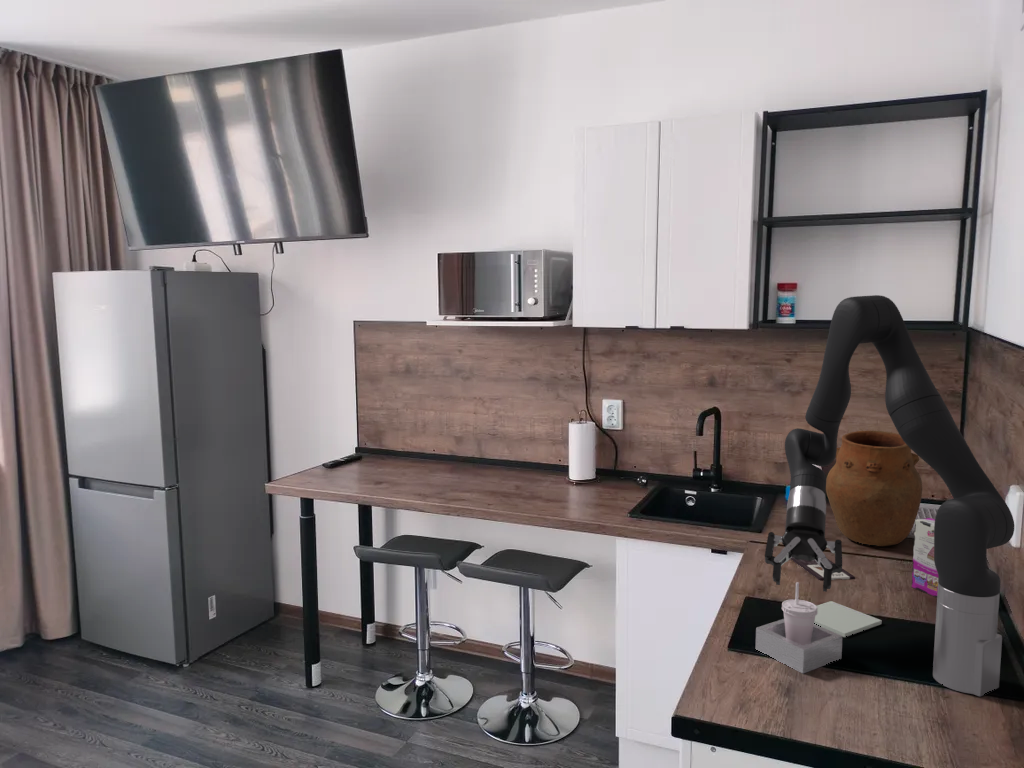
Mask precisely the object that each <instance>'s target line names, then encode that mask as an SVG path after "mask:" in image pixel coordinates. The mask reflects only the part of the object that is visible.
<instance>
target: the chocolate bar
mask: <svg viewBox="0 0 1024 768" xmlns="http://www.w3.org/2000/svg"><path fill="white" fill-rule="evenodd" d="M792 560H793V561H794V562H795V563H794V562H793V561H792ZM827 560H828V561H829V562H830V563H831V564H834V563H835V562H833V561H832V560H830V559H829V558H827ZM790 561H792V562H793V563H794V564H796V563H797V564H798V565H797V564H796V565H797V566H799V565H800V566H801V567H803V568H804V569H805V570H804V569H803V568H802V569H803V570H804V571H806V572H807V571H808V572H809V573H808V572H807V573H808V574H809V575H811V574H812V575H813V577H814V576H815V577H816V579H817V580H818V581H819V580H820V581H823V580H824V570H823V569H822V567H821V566H819V565H818V563H817V562H816V561H815V560H812V561H807V560H804V559H802V560H797V559H795V558H793V557H792V558H791V560H790ZM800 566H799V567H800ZM801 567H800V568H801ZM812 575H811V576H812ZM815 577H814V578H815ZM836 579H842V580H855V579H856V576H854V575H853V574H851V573H850V572H848V571H847V570H845V569H844V568H842V572H841V573H837V572H836V573H833V574H832V576H831V581H837V580H836Z"/></svg>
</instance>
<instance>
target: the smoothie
mask: <svg viewBox="0 0 1024 768" xmlns="http://www.w3.org/2000/svg"><path fill="white" fill-rule="evenodd" d="M799 591H800V582H797V581H796V582H795V598H794V599H793V598H792V599H787V600H784V601H782V603H781V610H782V611H783V619H784V621H785V632H786V638H787V639H789V640H791V641H794V642H796V643H798V644H800V645H802V646H803V645H806V644H809V643H811V638H812V632H813V626H814V621H815V616H816V615H817V614H818V612H817V609H818V608H817V605H816V604H815V603H813V602H810V601H807V600H803V599H799V593H800V592H799Z"/></svg>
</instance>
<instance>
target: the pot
mask: <svg viewBox="0 0 1024 768" xmlns="http://www.w3.org/2000/svg"><path fill="white" fill-rule="evenodd" d="M835 459H836V460H835V461H836V462H835V464H834V465H833V466H832V468H830V470H829V472H828V474H827V476H826V497H827V498H828V502H829V504H830V508H831V510H832V513H833V516H834V520H835V521H836V522H835V523H836V525H837V528H838V529H839V530H840V532H841V534H842V535H844V537H846V538H847V539H849V540H851V541H853V542H855V543H857V542H859V543H858V544H860V543H863V544H869V545H868V546H870V545H877V546H876V547H888V546H894V545H898V544H900V543H901V542H903V541H904V540H905V539H907V537H909V535H910V533H911V531H912V529H913V528H914V526H915V520H917V519H916V518H917V517H918V513H919V510H920V506H921V502H922V496H923V481H922V477H921V475H920V473H919V471H918V470H917V469H916V467H915V466H916V464H918V463H919V461H920V460H921V458H920V457H919V456H918V455H917V454H916V453H914V452H912V450H911V449H910V447H909V446H908V445H907V444H906V443H905V442H904V441H903V439H902V438H901V436H900V435H899V433H897V432H892V431H891V432H890V431H884V430H883V431H882V430H856V431H852V432H848V433H845V434H843V435H842V436H841V445H840V447H837V452H836V457H835ZM863 544H862V545H863Z"/></svg>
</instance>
